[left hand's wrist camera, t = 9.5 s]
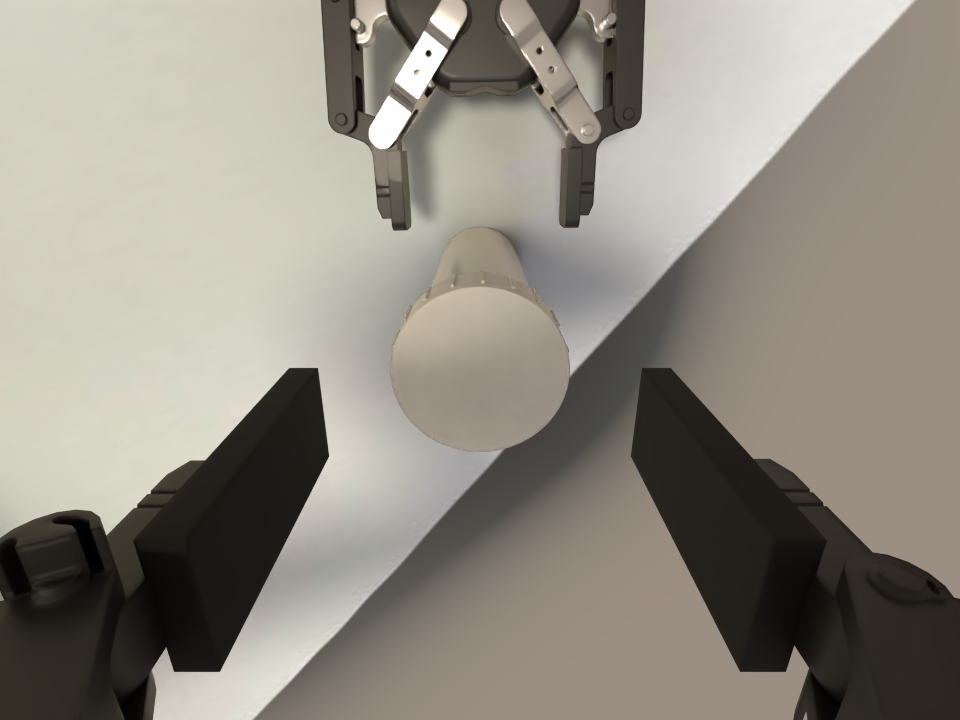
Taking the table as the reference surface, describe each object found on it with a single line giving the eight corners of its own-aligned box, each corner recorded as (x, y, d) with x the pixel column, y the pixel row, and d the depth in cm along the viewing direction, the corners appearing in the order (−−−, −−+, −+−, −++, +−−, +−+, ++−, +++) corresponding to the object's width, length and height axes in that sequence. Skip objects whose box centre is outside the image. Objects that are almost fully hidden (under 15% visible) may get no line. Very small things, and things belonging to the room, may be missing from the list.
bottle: (459, 313, 34) (441, 453, 18) (429, 244, 32) (379, 329, 16) (529, 286, 34) (574, 406, 17) (502, 214, 32) (524, 272, 16)
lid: (437, 443, 20) (432, 475, 18) (369, 307, 18) (355, 326, 16) (582, 392, 19) (594, 420, 17) (528, 243, 17) (535, 254, 15)
